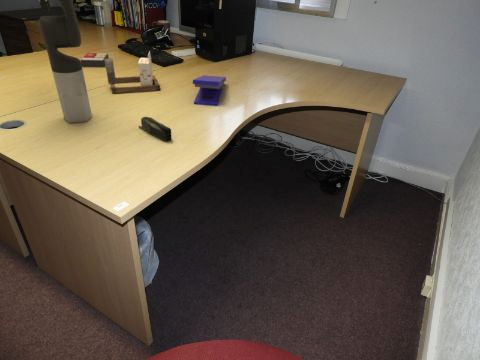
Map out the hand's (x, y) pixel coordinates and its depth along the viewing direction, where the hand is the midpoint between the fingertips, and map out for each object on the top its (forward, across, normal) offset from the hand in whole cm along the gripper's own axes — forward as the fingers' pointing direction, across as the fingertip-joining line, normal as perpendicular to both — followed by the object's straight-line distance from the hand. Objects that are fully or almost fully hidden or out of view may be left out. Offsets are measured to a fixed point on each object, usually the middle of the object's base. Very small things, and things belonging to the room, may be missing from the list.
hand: (46, 11), depth 124 cm
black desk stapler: (+31, -50, -29) cm, 65 cm away
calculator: (+31, +38, -13) cm, 50 cm away
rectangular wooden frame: (+30, -2, -28) cm, 41 cm away
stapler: (+31, -16, -59) cm, 68 cm away
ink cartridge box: (+30, -3, -33) cm, 45 cm away
